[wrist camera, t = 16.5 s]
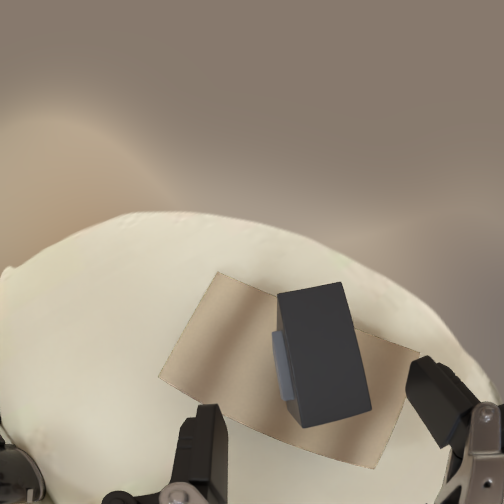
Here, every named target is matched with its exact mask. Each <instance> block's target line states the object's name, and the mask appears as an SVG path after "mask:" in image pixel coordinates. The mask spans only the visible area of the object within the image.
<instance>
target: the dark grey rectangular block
mask: <svg viewBox="0 0 504 504" xmlns="http://www.w3.org/2000/svg"><path fill="white" fill-rule="evenodd" d="M272 348H273V356H274V361H275V367H276V373H277V379H278V384H279V390H280V396H281V399H282V400H284V401H286V404H287V410H288V411H289V413H290V414H291V415H292V416H293V418H294V419H295V420H296V421H297V422H298V424H299V425H300V426H301V427H302V428H303V429H305V428H310V427H314V426H319V425H323V424H327V423H331V422H335V421H339V420H342V419H346V418H349V417H353V416H356V415H359V414H363V413H366V412H369V411H371V410H372V405H371V400H370V395H369V390H368V385H367V380H366V375H365V371H364V366H363V362H362V358H361V353H360V349H359V345H358V341H357V337H356V333H355V329H354V325H353V321H352V318H351V314H350V310H349V307H348V303H347V299H346V296H345V292H344V289H343V286H342V283H341V282H336V283H332V284H327V285H322V286H317V287H311V288H306V289H301V290H296V291H290V292H285V293H279V294H277V331H274V332H272Z"/></svg>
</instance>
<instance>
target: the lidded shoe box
mask: <svg viewBox="0 0 504 504" xmlns="http://www.w3.org/2000/svg"><path fill="white" fill-rule="evenodd" d="M354 329H355V328H354ZM274 331H277V297H275V296H273V295H271V294H268V293H266V292H263V291H261V290H259V289H256V288H254V287H252V286H249V285H247V284H245V283H242V282H240V281H238V280H235V279H233V278H231V277H228V276H226V275H224V274H222V273H219V272H217V274H216V275H215V277H214V279H213V281H212V282H211V284H210V286H209V287H208V289H207V291H206V293H205V294H204V296H203V298H202V300H201V301H200V303H199V305H198V306H197V308H196V310H195V312H194V313H193V315H192V317H191V319H190V320H189V322H188V324H187V326H186V327H185V329H184V331H183V333H182V334H181V336H180V338H179V340H178V342H177V343H176V345H175V347H174V349H173V350H172V352H171V354H170V356H169V358H168V359H167V361H166V363H165V365H164V366H163V368H162V370H161V372H160V374H159V375H158V377H159V378H160V379H162V380H163V381H165V382H166V383H168V384H170V385H171V386H173V387H175V388H176V389H178V390H179V391H181V392H183V393H184V394H186V395H188V396H190V397H191V398H193V399H195V400H197V401H198V402H200V403H202V404H216V403H217V404H218V405H219V407H220V410H221V413H222V414H223V415H225V416H227V417H229V418H231V419H233V420H235V421H237V422H239V423H241V424H243V425H245V426H247V427H250V428H252V429H254V430H256V431H259V432H261V433H263V434H266V435H268V436H270V437H273V438H275V439H278V440H280V441H283V442H285V443H288V444H290V445H293V446H296V447H299V448H301V449H304V450H307V451H310V452H313V453H316V454H319V455H322V456H325V457H328V458H332V459H335V460H339V461H342V462H346V463H349V464H353V465H357V466H361V467H365V468H370V469H375V467H376V465H377V463H378V461H379V459H380V457H381V455H382V453H383V451H384V449H385V447H386V445H387V443H388V441H389V438H390V436H391V434H392V432H393V429H394V427H395V425H396V422H397V420H398V417H399V415H400V412H401V410H402V407H403V404H404V402H405V399H406V392H405V386H406V382H407V377H408V373H409V368H410V364H411V362H412V361H414V360H416V359H419V355H420V352H417V351H414V350H411V349H408V348H406V347H403V346H400V345H397V344H395V343H392V342H389V341H387V340H384V339H381V338H379V337H376V336H373V335H371V334H368V333H365V332H363V331H360V330H358V329H355V333H356V337H357V341H358V345H359V349H360V353H361V358H362V362H363V366H364V371H365V375H366V380H367V385H368V390H369V395H370V400H371V405H372V410H371V411H369V412H366V413H363V414H359V415H356V416H353V417H349V418H346V419H342V420H339V421H335V422H331V423H327V424H323V425H319V426H314V427H310V428H305V429H303V428H302V427H301V426H300V425H299V424H298V422H297V421H296V420H295V419H294V418H293V416H292V415H291V414H290V413H289V411H288V410H287V404H286V401H284V400H282V399H281V396H280V390H279V384H278V379H277V373H276V367H275V361H274V356H273V348H272V332H274Z"/></svg>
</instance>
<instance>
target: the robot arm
mask: <svg viewBox="0 0 504 504" xmlns="http://www.w3.org/2000/svg"><path fill="white" fill-rule="evenodd" d="M405 392H406V396H407V398H408V400H409V401H410V403H411V404H412V406H413V407H414V409H415V410H416V412H417V413H418V415H419V416H420V418H421V419H422V421H423V422H424V424H425V425H426V427H427V429H428V430H429V432H430V433H431V435H432V436H433V438H434V439H435V441H436V443H437V444H438V446H439V447H440V449H441V448H443V447H445V446H447V445H450V446H451V449H450V452H449V457H448V462H447V467H446V471H445V476H444V480H443V484H442V487H441V489H440V491H439V493H438V495H437V497H436V499H435V501H434V504H502V503H503V497H504V404H502V405H499V406H497V405H495V404H494V403H492V402H480V401H479V400H478V399H477V398H476V396H475V395H474V394H473V393H472V392H471V391H470V390H469V389H468V388H467V386H466V385H465V384H464V383H463V382H461V381H460V379H459V378H458V377H457V376H455V373H454V372H453V371H452V370H451V369H450V368H449V367H447V366H445V365H443V364H441V363H437V364H436V363H435V361H434V360H433V359H432V358H431V357H430V356H424V357H421V358H419V359H416V360H414V361H412V362H411V364H410V368H409V373H408V377H407V382H406V386H405ZM0 422H1V417H0ZM178 438H179V440H178V442H177V448H176V453H175V459H174V464H173V470H172V476H171V480H170V482H169V484H168V485H167V486H165V487H164V488H163V489H162V490H161V491H160V492H158V493H155V494H150V495H143V496H136V497H133V496H132V495H131V494H129V493H127V492H124V491H113V492H110V493H109V494H107V495H106V496H105V497H104V498H103V500H102V503H101V504H227V493H228V431H227V427H226V424H225V421H224V418H223V416H222V413H221V410H220V407H219V405H218V404H217V403H216V404H202V405H198V408H197V415H196V417H193V418H187V419H186V420H185V422H184V423H183V424H182V426H181V427H180V432H179V437H178ZM44 496H45V485H44V481H43V478H42V475H41V473H40V471H39V469H38V467H37V466H36V464H35V462H34V461H33V460H32V458H31V457H30V456H29V455H28V454H27V453H26V452H24V451H23V450H21V449H18V448H17V447H16V446H15V445H13V444H5V441H4V439H3V438H2V436H1V435H0V504H19V503H25V502H27V503H31V502H33V501H40V500H42V499H43V498H44ZM426 504H427V503H426Z"/></svg>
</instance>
